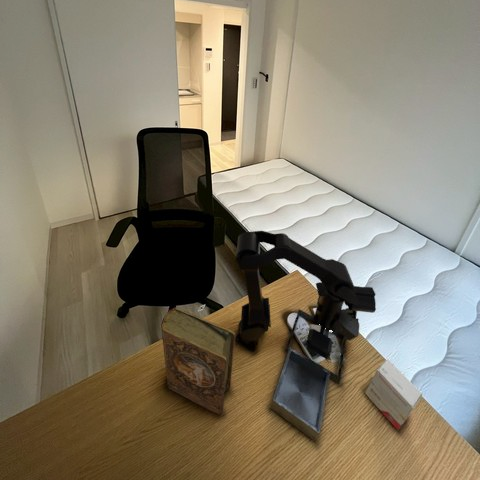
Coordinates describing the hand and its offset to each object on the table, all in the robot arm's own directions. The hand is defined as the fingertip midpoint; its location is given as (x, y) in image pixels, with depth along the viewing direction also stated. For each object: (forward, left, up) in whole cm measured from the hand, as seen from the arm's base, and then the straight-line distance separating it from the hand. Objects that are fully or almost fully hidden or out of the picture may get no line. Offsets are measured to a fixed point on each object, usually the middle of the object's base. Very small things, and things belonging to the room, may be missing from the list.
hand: (318, 336), depth 74 cm
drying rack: (0, 0, -4) cm, 4 cm away
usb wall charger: (0, 0, -4) cm, 4 cm away
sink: (-1, -14, -4) cm, 15 cm away
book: (-25, -27, -4) cm, 37 cm away
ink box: (+19, -5, -4) cm, 20 cm away
